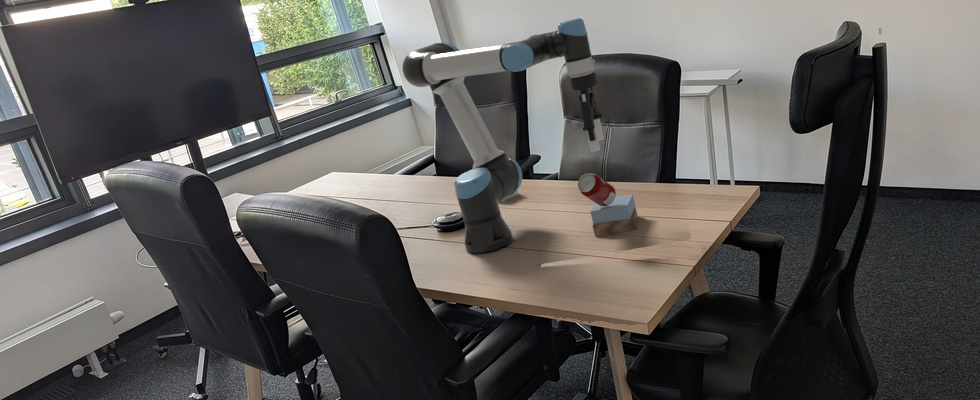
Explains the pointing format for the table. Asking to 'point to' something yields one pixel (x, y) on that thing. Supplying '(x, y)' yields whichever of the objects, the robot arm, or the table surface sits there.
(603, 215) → the top block
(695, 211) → the table surface
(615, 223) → the base block
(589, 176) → the soda can
